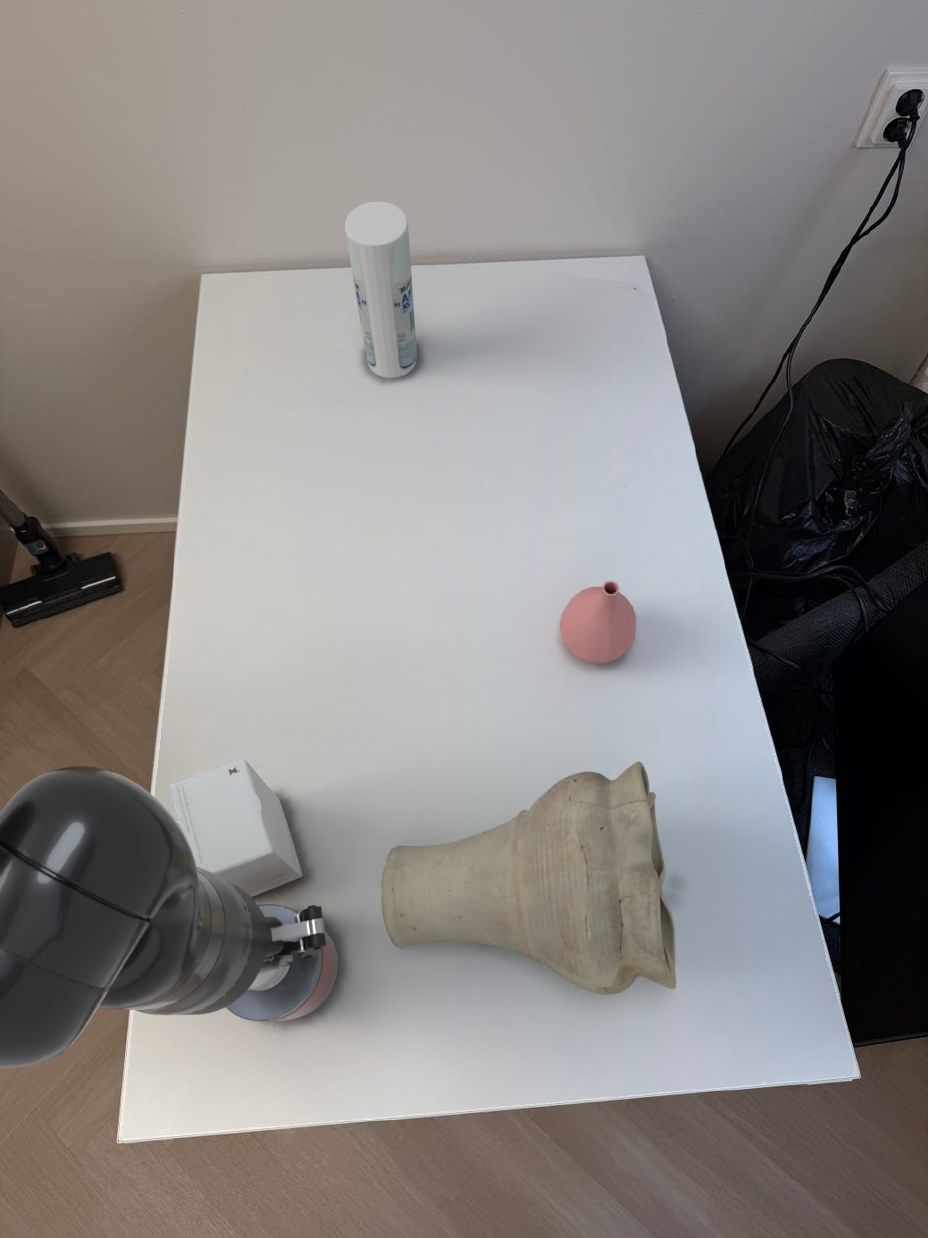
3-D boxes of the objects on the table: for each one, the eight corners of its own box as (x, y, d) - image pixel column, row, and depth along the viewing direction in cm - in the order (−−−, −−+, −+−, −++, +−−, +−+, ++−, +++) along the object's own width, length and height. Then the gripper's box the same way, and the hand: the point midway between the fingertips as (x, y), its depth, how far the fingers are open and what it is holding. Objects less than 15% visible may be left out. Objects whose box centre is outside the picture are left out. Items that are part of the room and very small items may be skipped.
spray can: (370, 337, 106) (349, 198, 88) (421, 341, 106) (411, 202, 88) (362, 377, 103) (339, 242, 85) (415, 381, 103) (403, 247, 85)
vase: (298, 1045, 61) (696, 1038, 55) (295, 745, 67) (655, 709, 61) (394, 993, 81) (692, 984, 75) (385, 767, 87) (661, 742, 81)
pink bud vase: (611, 598, 90) (631, 542, 80) (642, 660, 87) (667, 610, 76) (545, 620, 89) (556, 566, 78) (573, 684, 86) (588, 637, 75)
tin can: (248, 1030, 73) (213, 1033, 63) (238, 928, 76) (204, 916, 66) (345, 1008, 74) (326, 1007, 64) (331, 908, 77) (311, 892, 67)
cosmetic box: (217, 820, 80) (164, 780, 66) (284, 795, 81) (245, 751, 67) (239, 906, 77) (188, 883, 63) (308, 879, 78) (274, 850, 64)
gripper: (302, 845, 49) (341, 885, 64) (51, 899, 48) (152, 926, 63) (320, 983, 46) (357, 989, 61) (52, 1044, 44) (158, 1035, 60)
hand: (253, 957), depth 62 cm, fingers closed on pill bottle, 4 cm apart
